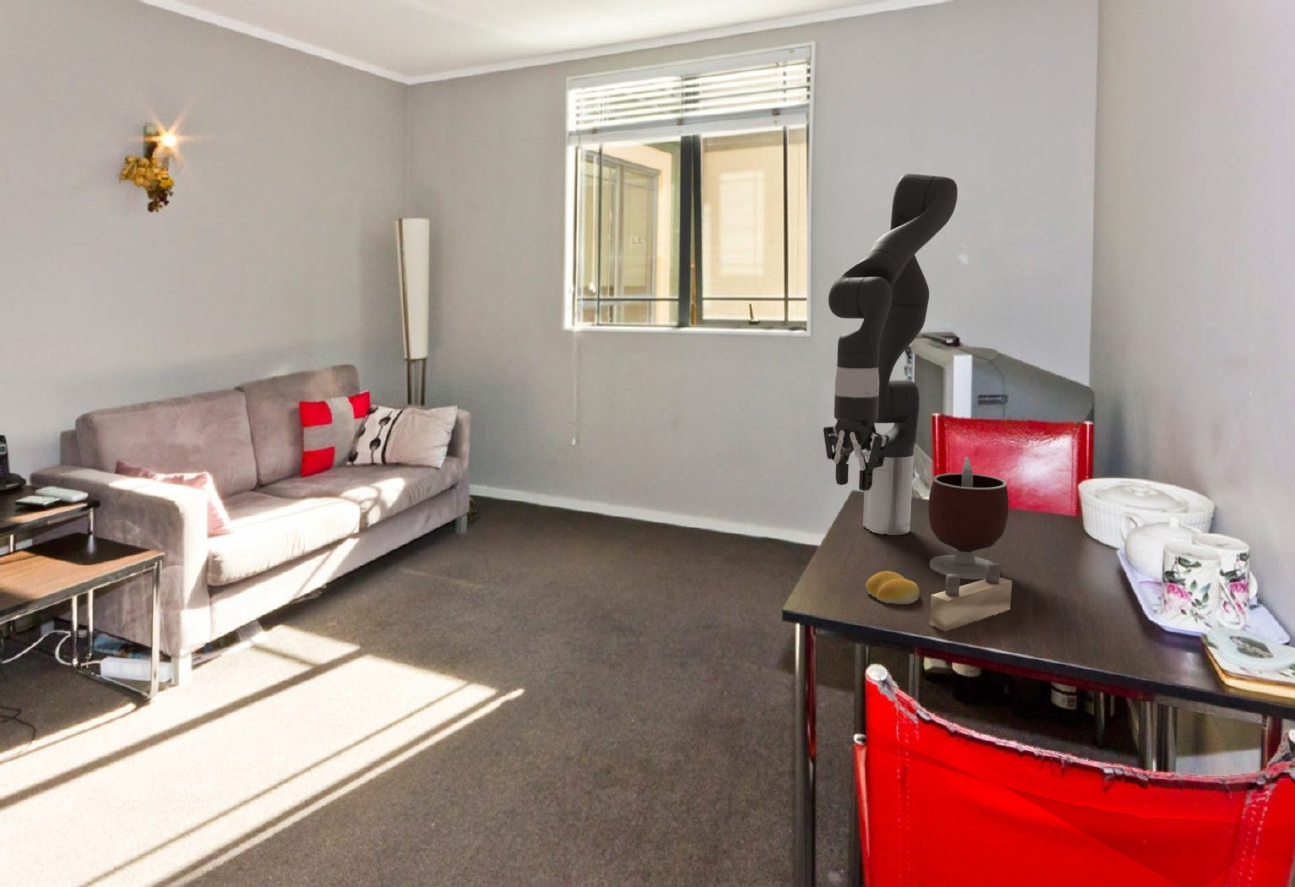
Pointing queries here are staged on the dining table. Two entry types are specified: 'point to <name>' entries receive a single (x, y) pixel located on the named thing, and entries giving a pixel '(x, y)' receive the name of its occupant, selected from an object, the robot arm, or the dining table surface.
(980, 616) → the bar
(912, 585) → the bread roll
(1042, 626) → the dining table surface
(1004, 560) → the dining table surface
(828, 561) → the dining table surface
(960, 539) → the mate gourd
